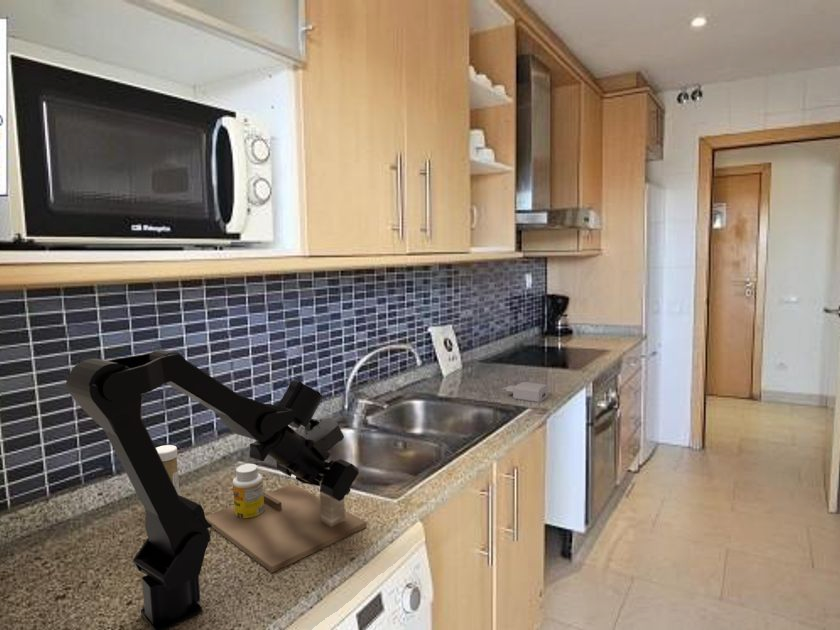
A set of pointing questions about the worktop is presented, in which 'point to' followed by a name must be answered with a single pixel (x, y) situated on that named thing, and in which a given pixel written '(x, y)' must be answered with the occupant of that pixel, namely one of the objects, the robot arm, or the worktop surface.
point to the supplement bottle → (248, 492)
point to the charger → (528, 391)
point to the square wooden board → (287, 526)
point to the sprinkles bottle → (170, 462)
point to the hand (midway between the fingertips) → (342, 489)
